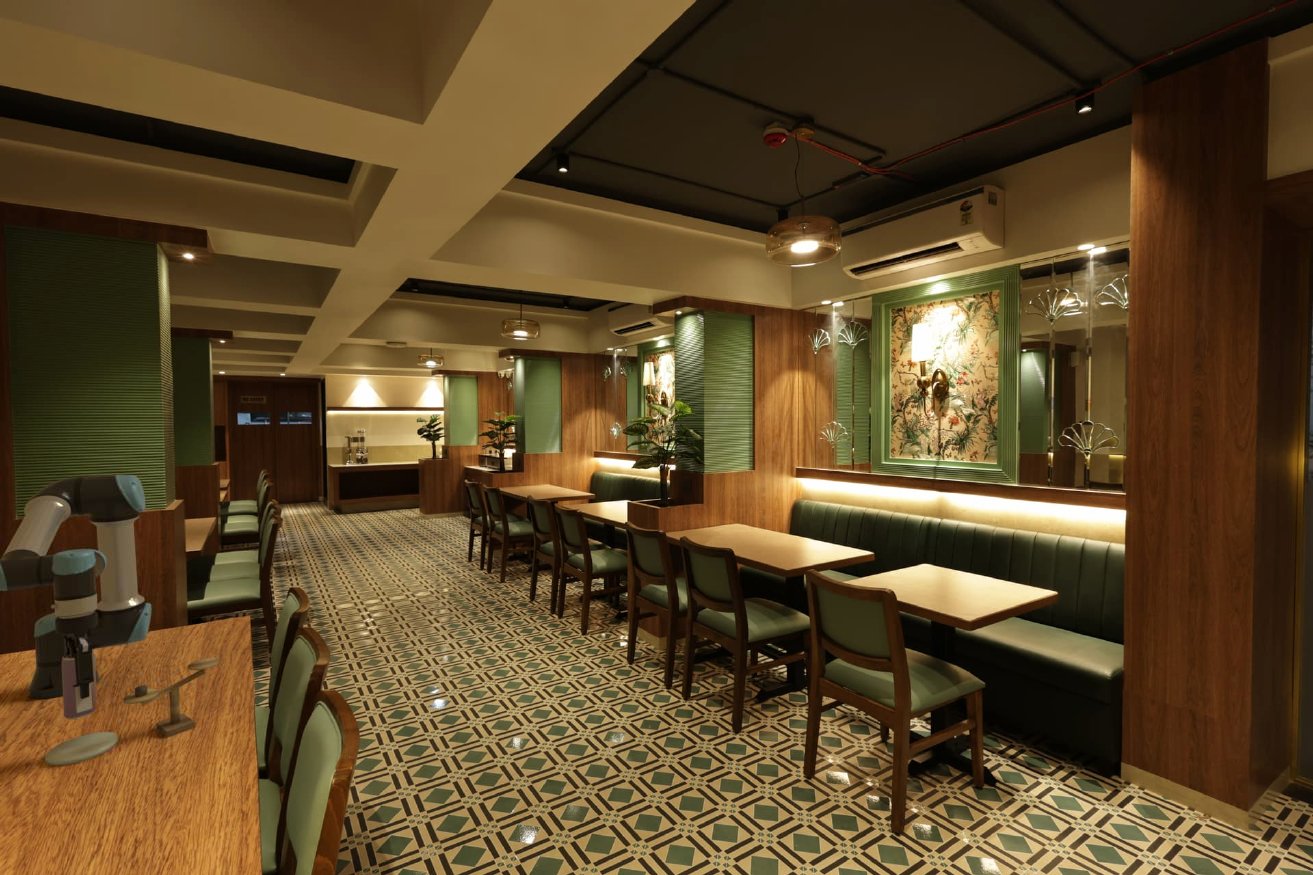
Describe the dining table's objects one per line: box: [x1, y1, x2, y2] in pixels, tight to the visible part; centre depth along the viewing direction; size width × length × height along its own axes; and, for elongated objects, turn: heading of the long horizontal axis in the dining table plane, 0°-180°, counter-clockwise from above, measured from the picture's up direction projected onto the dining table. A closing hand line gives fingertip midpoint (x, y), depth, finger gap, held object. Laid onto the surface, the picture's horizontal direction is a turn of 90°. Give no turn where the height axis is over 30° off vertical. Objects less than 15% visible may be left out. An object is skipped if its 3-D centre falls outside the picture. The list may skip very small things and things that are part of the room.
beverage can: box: [62, 649, 98, 720], centre depth 149 cm, size 6×6×15 cm
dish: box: [44, 731, 119, 767], centre depth 150 cm, size 13×13×1 cm
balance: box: [122, 657, 221, 738], centre depth 160 cm, size 8×21×15 cm, turn 145°
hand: (80, 706), depth 149 cm, fingers closed on beverage can, 6 cm apart
